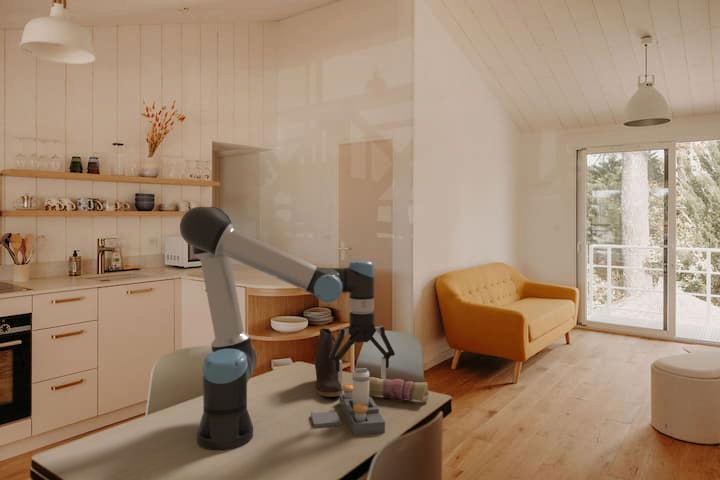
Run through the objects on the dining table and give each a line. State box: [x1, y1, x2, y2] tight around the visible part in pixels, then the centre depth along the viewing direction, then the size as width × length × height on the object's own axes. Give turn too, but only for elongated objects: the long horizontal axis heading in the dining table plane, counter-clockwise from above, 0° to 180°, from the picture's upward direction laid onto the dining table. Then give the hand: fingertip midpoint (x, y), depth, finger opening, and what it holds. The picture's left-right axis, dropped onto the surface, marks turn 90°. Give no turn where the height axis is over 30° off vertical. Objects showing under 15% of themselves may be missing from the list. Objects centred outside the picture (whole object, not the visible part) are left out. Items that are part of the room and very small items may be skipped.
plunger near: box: [353, 404, 368, 422], centre depth 145 cm, size 4×4×5 cm
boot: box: [314, 328, 344, 398], centre depth 177 cm, size 9×24×20 cm, turn 16°
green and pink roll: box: [369, 376, 429, 403], centre depth 169 cm, size 8×8×20 cm
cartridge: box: [352, 367, 371, 408], centre depth 153 cm, size 5×5×15 cm
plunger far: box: [342, 384, 353, 399], centre depth 161 cm, size 4×4×5 cm
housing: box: [339, 393, 386, 436], centre depth 154 cm, size 9×24×4 cm, turn 12°
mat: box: [310, 411, 342, 428], centre depth 150 cm, size 8×8×1 cm
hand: (362, 380), depth 153 cm, fingers open, 13 cm apart
